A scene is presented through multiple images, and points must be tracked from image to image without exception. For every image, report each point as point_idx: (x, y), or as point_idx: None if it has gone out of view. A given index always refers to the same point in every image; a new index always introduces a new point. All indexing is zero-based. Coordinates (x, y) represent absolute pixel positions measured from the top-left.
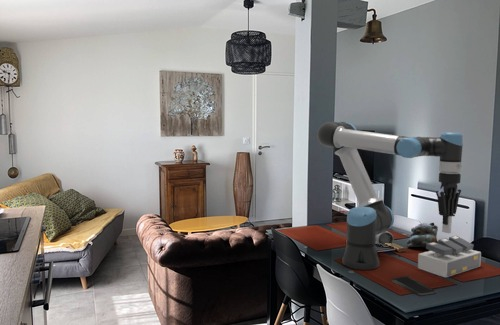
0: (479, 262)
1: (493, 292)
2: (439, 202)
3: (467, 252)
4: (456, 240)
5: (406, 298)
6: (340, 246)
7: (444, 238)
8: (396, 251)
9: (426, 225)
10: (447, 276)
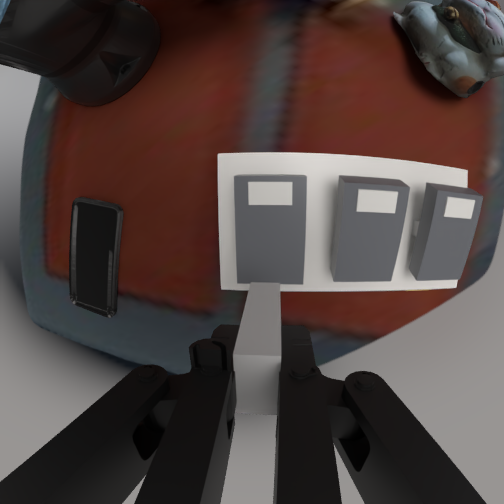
0: None
1: None
2: (37, 477)
3: None
4: (436, 226)
5: (48, 290)
6: None
7: (397, 187)
8: (325, 10)
9: (496, 28)
10: None
